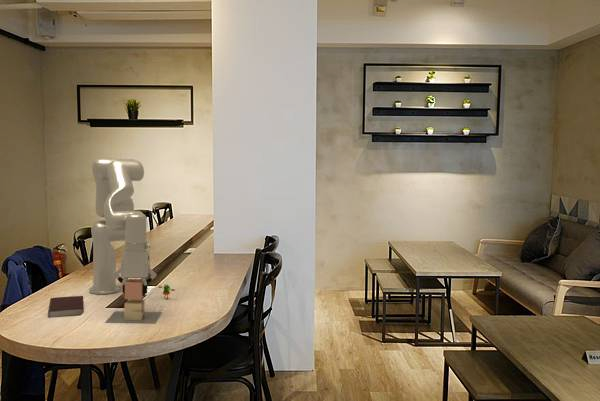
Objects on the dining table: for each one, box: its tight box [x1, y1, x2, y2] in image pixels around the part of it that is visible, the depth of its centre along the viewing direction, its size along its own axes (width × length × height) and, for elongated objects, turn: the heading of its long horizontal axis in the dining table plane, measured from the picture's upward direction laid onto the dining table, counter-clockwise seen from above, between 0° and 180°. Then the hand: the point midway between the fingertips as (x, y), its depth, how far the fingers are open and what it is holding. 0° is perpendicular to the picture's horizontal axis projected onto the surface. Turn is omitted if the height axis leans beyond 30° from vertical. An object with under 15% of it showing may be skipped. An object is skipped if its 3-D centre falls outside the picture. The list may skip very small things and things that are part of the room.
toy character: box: [157, 284, 176, 299], centre depth 231 cm, size 11×12×7 cm
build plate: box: [104, 310, 163, 325], centre depth 201 cm, size 14×18×1 cm
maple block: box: [123, 298, 146, 320], centre depth 201 cm, size 6×6×6 cm
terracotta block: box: [124, 278, 145, 300], centre depth 200 cm, size 6×6×6 cm
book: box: [47, 295, 85, 318], centre depth 211 cm, size 12×19×3 cm, turn 22°
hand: (134, 294), depth 200 cm, fingers closed on terracotta block, 6 cm apart
